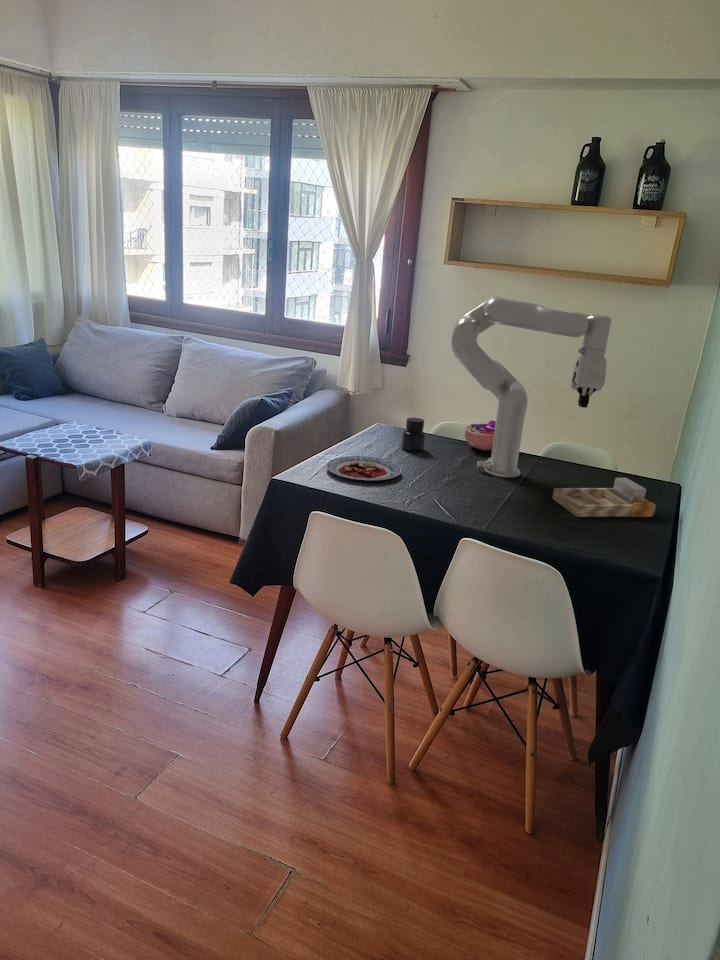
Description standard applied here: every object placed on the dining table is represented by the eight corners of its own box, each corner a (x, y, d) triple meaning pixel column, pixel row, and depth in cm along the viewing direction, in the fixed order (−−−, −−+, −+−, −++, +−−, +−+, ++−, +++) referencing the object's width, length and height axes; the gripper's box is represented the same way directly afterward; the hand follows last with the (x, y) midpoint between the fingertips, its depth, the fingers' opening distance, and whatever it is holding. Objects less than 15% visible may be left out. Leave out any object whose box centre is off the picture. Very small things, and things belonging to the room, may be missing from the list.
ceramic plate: (379, 491, 214) (379, 482, 213) (311, 474, 225) (311, 466, 224) (413, 472, 235) (413, 464, 234) (350, 457, 247) (350, 449, 246)
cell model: (452, 446, 271) (455, 418, 267) (487, 441, 282) (491, 415, 278) (482, 457, 258) (486, 429, 254) (517, 452, 269) (521, 424, 266)
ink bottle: (427, 449, 264) (431, 419, 260) (420, 454, 256) (423, 423, 252) (404, 444, 267) (407, 415, 264) (396, 449, 260) (399, 419, 256)
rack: (577, 517, 203) (580, 503, 202) (552, 498, 219) (554, 485, 217) (654, 516, 209) (658, 503, 207) (625, 497, 224) (627, 485, 223)
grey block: (630, 510, 210) (634, 489, 208) (611, 497, 220) (615, 477, 218) (641, 510, 211) (646, 489, 208) (622, 497, 221) (626, 477, 219)
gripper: (577, 353, 218) (567, 408, 224) (619, 356, 221) (608, 410, 227) (567, 350, 225) (557, 403, 231) (607, 352, 228) (596, 405, 234)
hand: (582, 406), depth 229 cm, fingers closed
